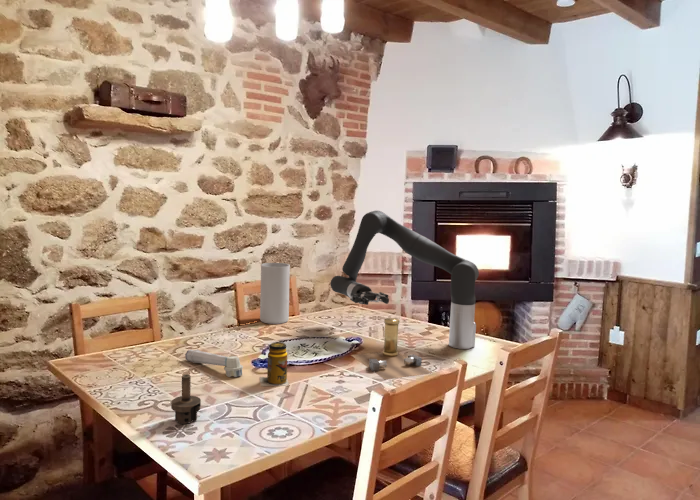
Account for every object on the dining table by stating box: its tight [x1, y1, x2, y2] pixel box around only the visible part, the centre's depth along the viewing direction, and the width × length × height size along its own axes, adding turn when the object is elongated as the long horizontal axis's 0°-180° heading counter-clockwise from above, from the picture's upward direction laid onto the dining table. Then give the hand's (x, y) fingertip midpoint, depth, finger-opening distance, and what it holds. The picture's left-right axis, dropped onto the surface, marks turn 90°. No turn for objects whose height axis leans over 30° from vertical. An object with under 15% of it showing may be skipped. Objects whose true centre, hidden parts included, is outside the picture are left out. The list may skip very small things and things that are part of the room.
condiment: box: [259, 341, 290, 387], centre depth 173 cm, size 7×8×12 cm
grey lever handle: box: [184, 348, 244, 378], centre depth 184 cm, size 5×7×25 cm
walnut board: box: [350, 351, 433, 380], centre depth 193 cm, size 18×26×1 cm
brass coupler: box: [382, 317, 400, 357], centre depth 202 cm, size 5×5×13 cm
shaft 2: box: [404, 354, 423, 367], centre depth 192 cm, size 5×4×3 cm
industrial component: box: [170, 374, 202, 425], centre depth 143 cm, size 9×7×12 cm
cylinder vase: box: [259, 262, 291, 325], centre depth 246 cm, size 12×12×25 cm
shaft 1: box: [368, 359, 387, 373], centre depth 187 cm, size 5×4×3 cm
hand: (377, 301), depth 211 cm, fingers open, 8 cm apart
